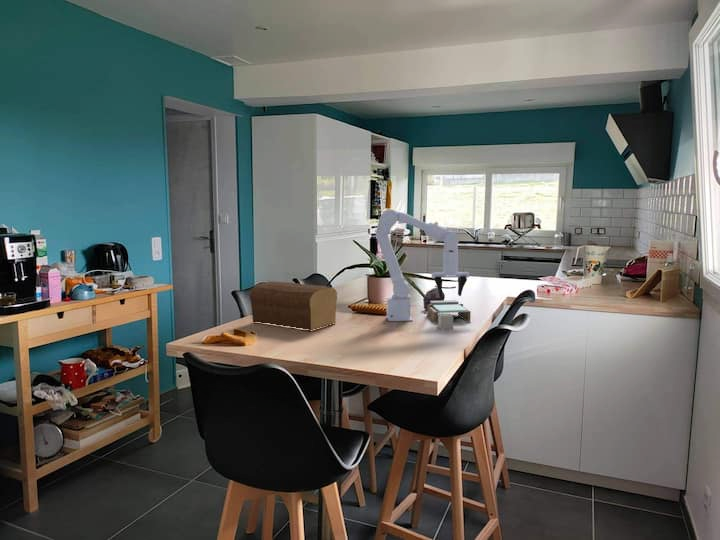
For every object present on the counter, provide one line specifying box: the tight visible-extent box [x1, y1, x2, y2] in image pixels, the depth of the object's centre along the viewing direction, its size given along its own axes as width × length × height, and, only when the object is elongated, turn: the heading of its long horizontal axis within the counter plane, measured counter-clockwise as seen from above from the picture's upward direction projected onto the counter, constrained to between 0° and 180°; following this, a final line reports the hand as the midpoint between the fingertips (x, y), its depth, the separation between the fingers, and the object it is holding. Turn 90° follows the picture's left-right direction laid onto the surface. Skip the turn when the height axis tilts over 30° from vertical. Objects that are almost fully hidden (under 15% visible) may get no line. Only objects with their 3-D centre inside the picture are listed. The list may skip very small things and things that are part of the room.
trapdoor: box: [430, 299, 467, 314], centre depth 218 cm, size 17×11×2 cm, turn 5°
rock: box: [422, 287, 446, 311], centre depth 238 cm, size 12×9×10 cm
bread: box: [249, 281, 338, 330], centre depth 210 cm, size 18×30×16 cm, turn 57°
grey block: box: [437, 313, 454, 330], centre depth 201 cm, size 4×4×5 cm
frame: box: [426, 303, 472, 323], centre depth 218 cm, size 14×14×5 cm
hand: (450, 295), depth 214 cm, fingers open, 7 cm apart
